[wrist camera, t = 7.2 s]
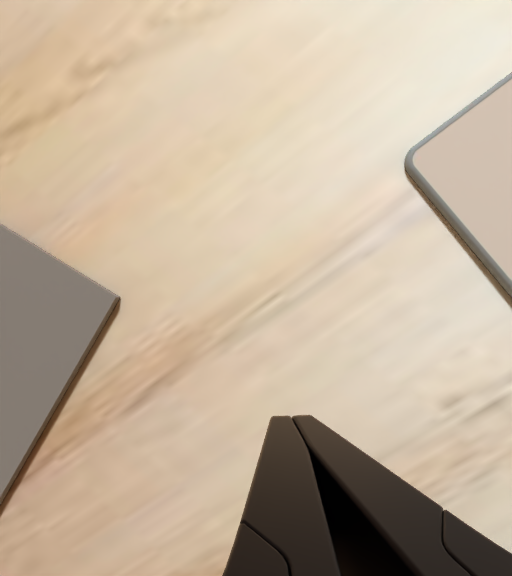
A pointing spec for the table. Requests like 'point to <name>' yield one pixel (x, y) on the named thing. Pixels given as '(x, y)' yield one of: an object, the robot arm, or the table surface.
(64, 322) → the rubber mat
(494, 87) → the smartphone
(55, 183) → the table surface
